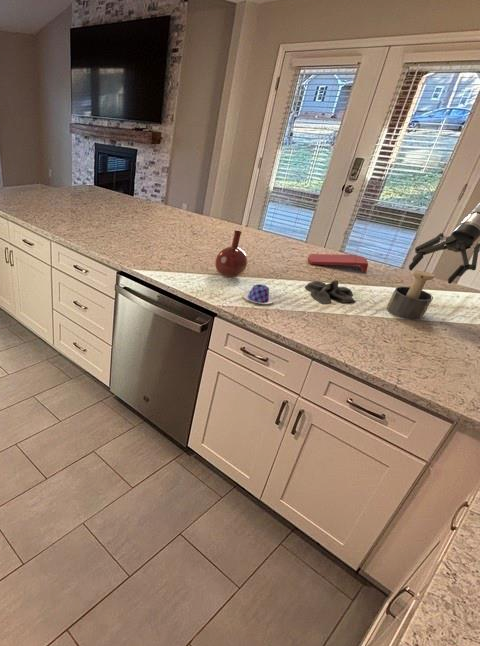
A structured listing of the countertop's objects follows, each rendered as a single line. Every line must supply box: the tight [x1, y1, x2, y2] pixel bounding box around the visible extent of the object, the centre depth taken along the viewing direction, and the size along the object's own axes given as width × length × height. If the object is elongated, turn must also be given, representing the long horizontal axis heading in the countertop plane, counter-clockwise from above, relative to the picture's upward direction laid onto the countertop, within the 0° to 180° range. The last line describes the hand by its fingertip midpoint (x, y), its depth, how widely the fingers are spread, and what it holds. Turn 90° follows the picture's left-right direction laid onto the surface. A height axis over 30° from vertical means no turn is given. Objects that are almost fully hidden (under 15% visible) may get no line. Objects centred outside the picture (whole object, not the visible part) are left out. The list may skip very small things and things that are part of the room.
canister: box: [385, 286, 434, 321], centre depth 157 cm, size 12×12×8 cm
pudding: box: [242, 283, 275, 305], centre depth 163 cm, size 12×12×5 cm
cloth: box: [304, 279, 356, 305], centre depth 169 cm, size 22×19×6 cm
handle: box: [406, 269, 435, 299], centre depth 155 cm, size 5×6×15 cm
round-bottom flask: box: [214, 230, 248, 279], centre depth 177 cm, size 13×13×20 cm
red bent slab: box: [307, 253, 369, 273], centre depth 200 cm, size 12×5×25 cm
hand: (428, 274), depth 153 cm, fingers open, 13 cm apart
